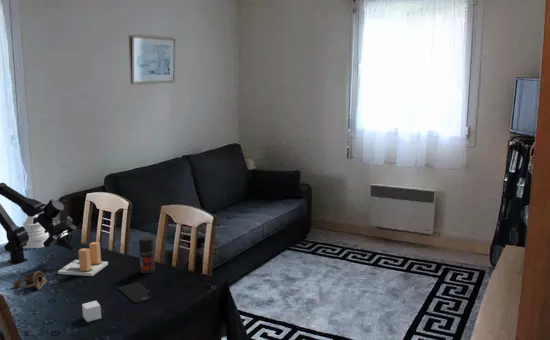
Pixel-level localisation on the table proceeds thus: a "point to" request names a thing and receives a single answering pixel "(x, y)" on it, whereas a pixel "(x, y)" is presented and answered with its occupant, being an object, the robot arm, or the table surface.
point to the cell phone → (135, 292)
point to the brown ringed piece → (31, 281)
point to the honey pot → (34, 233)
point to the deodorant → (146, 254)
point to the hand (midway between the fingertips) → (73, 249)
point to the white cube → (91, 311)
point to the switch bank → (75, 269)
